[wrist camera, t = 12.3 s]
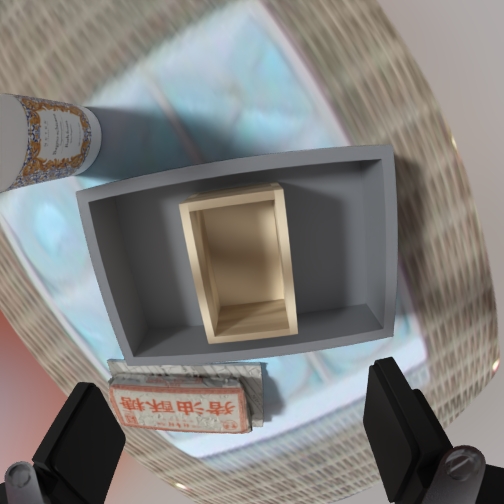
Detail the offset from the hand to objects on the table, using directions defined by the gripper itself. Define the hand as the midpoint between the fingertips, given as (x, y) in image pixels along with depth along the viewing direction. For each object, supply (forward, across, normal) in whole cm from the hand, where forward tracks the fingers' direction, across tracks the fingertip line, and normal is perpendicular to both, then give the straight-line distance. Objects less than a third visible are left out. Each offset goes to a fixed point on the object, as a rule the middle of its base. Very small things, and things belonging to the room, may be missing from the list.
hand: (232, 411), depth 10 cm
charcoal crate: (+20, 0, +1) cm, 20 cm away
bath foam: (+21, +15, -12) cm, 28 cm away
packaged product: (+21, +10, +18) cm, 29 cm away
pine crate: (+19, 0, 0) cm, 19 cm away
